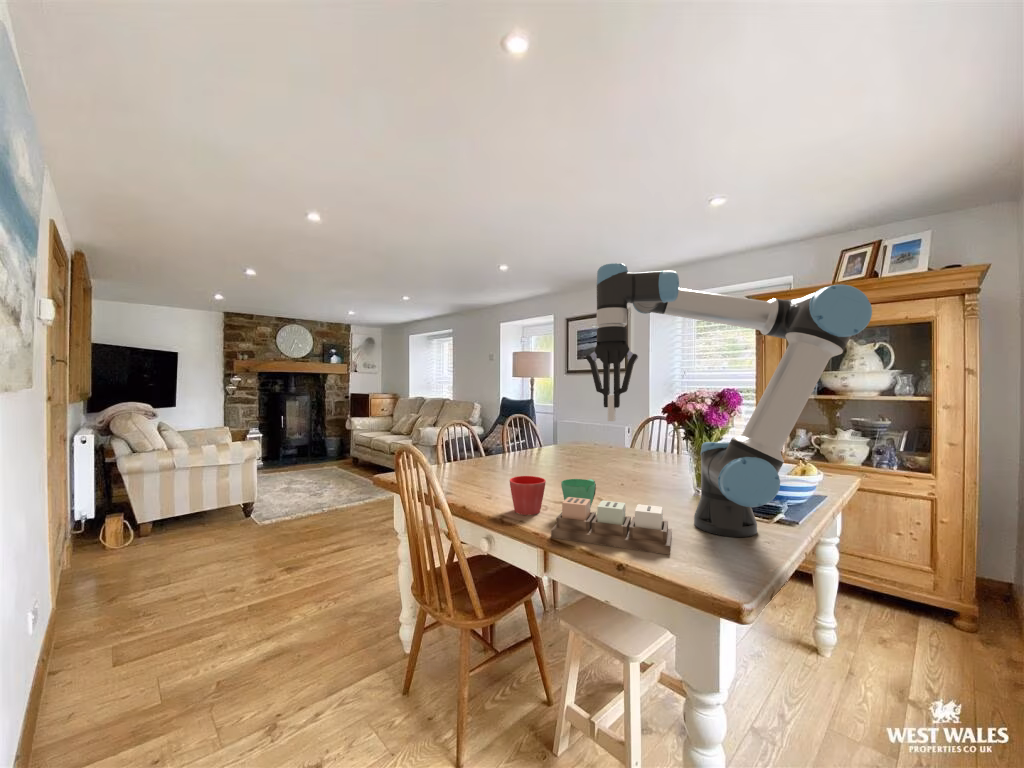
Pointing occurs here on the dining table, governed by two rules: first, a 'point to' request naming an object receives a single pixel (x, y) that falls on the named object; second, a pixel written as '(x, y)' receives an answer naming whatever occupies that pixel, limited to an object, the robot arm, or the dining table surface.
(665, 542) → the tile rack
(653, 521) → the tile
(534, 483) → the flower pot
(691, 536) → the dining table surface
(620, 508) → the tile
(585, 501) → the tile
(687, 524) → the dining table surface
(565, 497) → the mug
